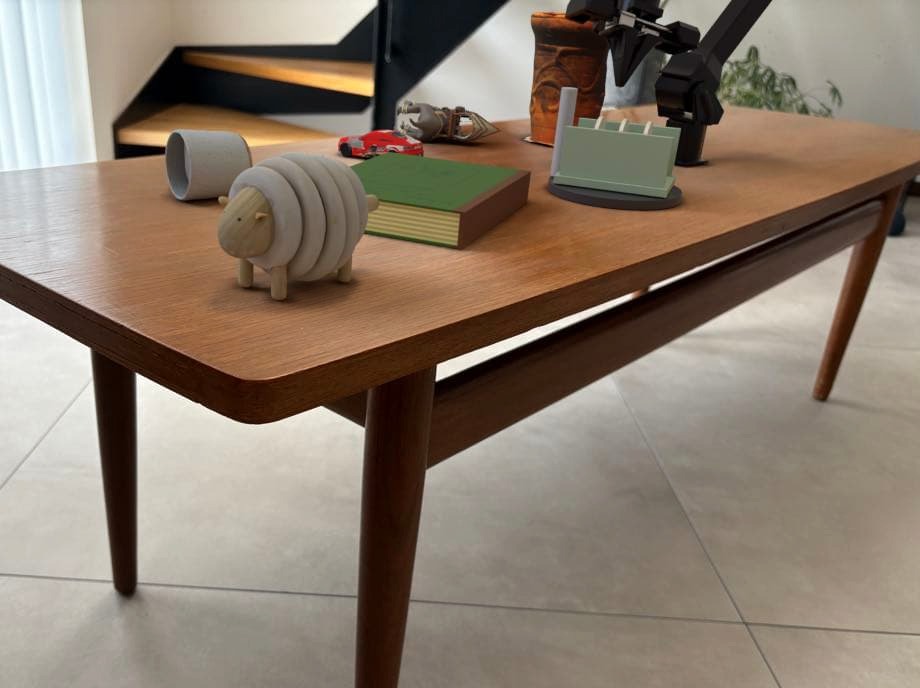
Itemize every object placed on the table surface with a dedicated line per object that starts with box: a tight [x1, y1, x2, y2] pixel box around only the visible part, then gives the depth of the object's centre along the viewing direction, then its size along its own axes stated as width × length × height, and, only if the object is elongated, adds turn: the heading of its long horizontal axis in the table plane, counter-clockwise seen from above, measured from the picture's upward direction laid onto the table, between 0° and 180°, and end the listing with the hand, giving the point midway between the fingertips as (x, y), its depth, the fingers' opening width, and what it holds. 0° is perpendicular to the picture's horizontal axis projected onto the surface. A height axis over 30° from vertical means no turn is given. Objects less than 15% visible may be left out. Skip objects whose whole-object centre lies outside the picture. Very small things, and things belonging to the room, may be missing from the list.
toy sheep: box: [216, 150, 379, 301], centre depth 74 cm, size 11×17×11 cm, turn 140°
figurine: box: [393, 99, 502, 143], centre depth 144 cm, size 20×6×17 cm
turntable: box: [547, 175, 683, 211], centre depth 114 cm, size 17×17×1 cm
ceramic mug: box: [164, 128, 254, 201], centre depth 102 cm, size 11×8×8 cm
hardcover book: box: [349, 152, 532, 250], centre depth 101 cm, size 25×19×4 cm
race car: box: [337, 129, 425, 159], centre depth 127 cm, size 13×5×4 cm, turn 60°
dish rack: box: [549, 87, 681, 198], centre depth 112 cm, size 16×10×11 cm, turn 67°
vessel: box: [524, 11, 611, 148], centre depth 145 cm, size 14×14×20 cm
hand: (619, 86), depth 123 cm, fingers closed
